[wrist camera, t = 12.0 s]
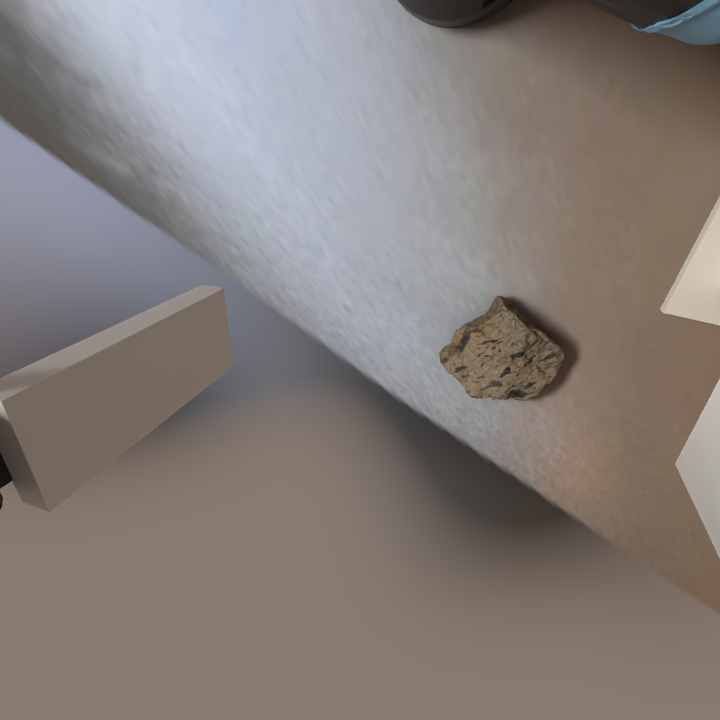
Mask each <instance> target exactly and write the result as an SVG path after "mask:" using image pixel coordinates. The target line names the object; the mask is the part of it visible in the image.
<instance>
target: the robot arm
mask: <svg viewBox="0 0 720 720" xmlns="http://www.w3.org/2000/svg"><path fill="white" fill-rule="evenodd" d="M398 1H399V3H400V4H401V5H402V6H403V7H404V8H405V9H406V10H407V11H408V12H409V13H410V14H412V15H413V16H415V17H416V18H418V19H420V20H421V21H424V22H426V23H428V24H431V25H435V26H440V27H461V26H466V25H470V24H473V23H476V22H479V21H481V20H484V19H486V18H488V17H490V16H491V15H493V14H495V13H496V12H498V11H499V10H501V9H502V8H503V7H505V6H506V5H507V4H508V3H510V2H511V1H512V0H398ZM578 1H581V2H583V3H585V4H587V5H590V6H592V7H594V8H597V9H599V10H601V11H604V12H606V13H608V14H610V15H613V16H615V17H617V18H620V19H622V20H624V21H627V22H629V23H630V25H631V26H632V27H633V28H634V29H636V30H637V31H639V32H642V31H644V32H646V33H656V32H657V33H660V34H663V35H666V36H669V37H671V38H674V39H677V40H680V41H683V42H685V43H688V44H691V45H712V44H718V43H720V0H578ZM232 366H233V364H232V356H231V347H230V338H229V330H228V321H227V313H226V304H225V295H224V288H218V287H212V286H207V285H201V286H199V287H197V288H195V289H192V290H190V291H188V292H186V293H184V294H182V295H180V296H177V297H175V298H173V299H171V300H169V301H167V302H164V303H162V304H160V305H158V306H156V307H154V308H151V309H149V310H147V311H145V312H143V313H141V314H138V315H136V316H134V317H132V318H130V319H128V320H126V321H123V322H121V323H119V324H117V325H115V326H113V327H110V328H108V329H106V330H104V331H102V332H100V333H97V334H95V335H93V336H91V337H89V338H87V339H84V340H82V341H80V342H78V343H76V344H74V345H72V346H69V347H67V348H65V349H63V350H61V351H59V352H56V353H54V354H52V355H50V356H48V357H46V358H43V359H41V360H39V361H37V362H35V363H33V364H31V365H28V366H26V367H24V368H22V369H20V370H18V371H16V372H13V373H11V374H9V375H7V376H5V377H2V378H0V488H2V487H3V486H5V485H6V484H8V483H9V482H11V481H13V483H14V485H15V487H16V489H17V491H18V494H19V496H20V498H21V500H22V502H24V503H27V504H30V505H33V506H35V507H38V508H41V509H43V510H46V511H48V512H50V511H51V510H53V509H54V508H55V507H56V506H58V505H59V504H60V503H61V502H63V501H64V500H65V499H66V498H68V497H69V496H70V495H72V494H73V493H74V492H75V491H77V490H78V489H79V488H80V487H82V486H83V485H84V484H85V483H86V482H87V481H89V480H90V479H92V478H93V477H94V476H95V475H97V474H98V473H99V472H100V471H102V470H103V469H104V468H106V467H107V466H108V465H109V464H111V463H112V462H113V461H114V460H116V459H117V458H118V457H119V456H121V455H122V454H123V453H124V452H126V451H127V450H128V449H129V448H131V447H132V446H133V445H134V444H136V443H137V442H138V441H140V440H141V439H142V438H143V437H145V436H146V435H147V434H148V433H150V432H151V431H152V430H153V429H155V428H156V427H157V426H158V425H160V424H161V423H162V422H163V421H165V420H166V419H167V418H168V417H170V416H171V415H172V414H173V413H175V412H176V411H177V410H178V409H180V408H181V407H182V406H183V405H185V404H186V403H187V402H188V401H190V400H191V399H192V398H193V397H195V396H196V395H197V394H199V393H200V392H201V391H202V390H204V389H205V388H206V387H207V386H209V385H210V384H211V383H212V382H214V381H215V380H216V379H218V378H219V377H220V376H221V375H223V374H224V373H225V372H226V371H228V370H229V369H230V368H231V367H232ZM675 465H676V467H677V469H678V471H679V473H680V475H681V477H682V480H683V482H684V484H685V486H686V488H687V490H688V492H689V494H690V496H691V499H692V501H693V503H694V505H695V507H696V509H697V511H698V513H699V515H700V518H701V520H702V522H703V524H704V526H705V528H706V530H707V532H708V534H709V537H710V539H711V541H712V543H713V545H714V547H715V549H716V551H717V553H718V556H719V558H720V379H719V381H718V383H717V385H716V387H715V389H714V391H713V393H712V394H711V396H710V398H709V400H708V402H707V404H706V406H705V408H704V410H703V412H702V413H701V415H700V417H699V419H698V421H697V423H696V425H695V427H694V429H693V431H692V433H691V434H690V436H689V438H688V440H687V442H686V444H685V446H684V448H683V450H682V452H681V454H680V455H679V457H678V459H677V461H676V463H675ZM2 501H3V497H2V495H1V493H0V509H1V507H2Z"/></svg>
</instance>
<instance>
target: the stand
mask: <svg viewBox="0 0 720 720" xmlns="http://www.w3.org/2000/svg"><path fill="white" fill-rule="evenodd" d="M660 310H661V311H662V312H663V313H666V314H671V315H675V316H680V317H684V318H689V319H693V320H698V321H702V322H706V323H711V324H715V325H720V196H719V198H718V200H717V202H716V204H715V206H714V208H713V210H712V211H711V213H710V215H709V217H708V219H707V221H706V223H705V225H704V227H703V229H702V230H701V232H700V234H699V236H698V238H697V240H696V242H695V244H694V246H693V248H692V249H691V251H690V253H689V255H688V257H687V259H686V261H685V263H684V265H683V267H682V268H681V270H680V272H679V274H678V276H677V278H676V280H675V282H674V284H673V286H672V287H671V289H670V291H669V293H668V295H667V297H666V299H665V301H664V303H663V305H662V306H661V308H660Z"/></svg>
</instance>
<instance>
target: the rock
mask: <svg viewBox="0 0 720 720" xmlns="http://www.w3.org/2000/svg"><path fill="white" fill-rule="evenodd" d="M439 355H440V362H441V364H442V365H443V366H444V368H445V369H446V371H447V372H448V373H450V374H452V375H453V376H454V377H455V378H456V379H457V380H458V381H459V382H460V383H461V384H462V386H463V387H464V388H465V390H466V392H467V394H468V395H469V396H470V397H472V398H473V397H474V398H488V397H490V398H492V399H493V400H494V399H503V400H506V399H508V398H510V397H513V398H514V399H517V400H520V401H526V400H527V399H529V398H530V397H536V396H537V395H539V394H540V393H541V391H542V390H543V389H544V388H545V387H546V386H547V385H549V384H550V383H551V382H552V380H553V379H554V377H555V376H556V375H557V373H558V369H559V368H560V366H561V364H562V361H563V359H564V351H563V349H562V348H561V347H560V346H559V345H558V344H556V343H555V342H554V341H553V340H552V339H551V337H550V336H549V335H548V334H547V333H546V332H545V331H544V330H543V329H542V328H541V327H538V326H535V325H534V324H533V323H532V322H531V321H529V320H528V319H527V318H525V317H524V316H523V315H522V314H521V313H520V312H519V311H518V310H517V309H516V308H515V307H514V306H513V304H511V302H510V301H509V300H507V299H506V298H504V297H502V296H497V297H496V298H495V299H494V301H493V303H492V305H491V308H490V310H489V311H487V313H486V314H485V315H483V316H480V317H478V318H476V319H474V320H473V321H471V322H470V323H467V324H465V325H463V326H462V327H461V328H460V329H458V330H457V331H455V332H454V337H453V339H452V342H451V343H450V344H448V345H447V346H445V347H444V348H443V349H442V350H441V352H440V353H439Z"/></svg>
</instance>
